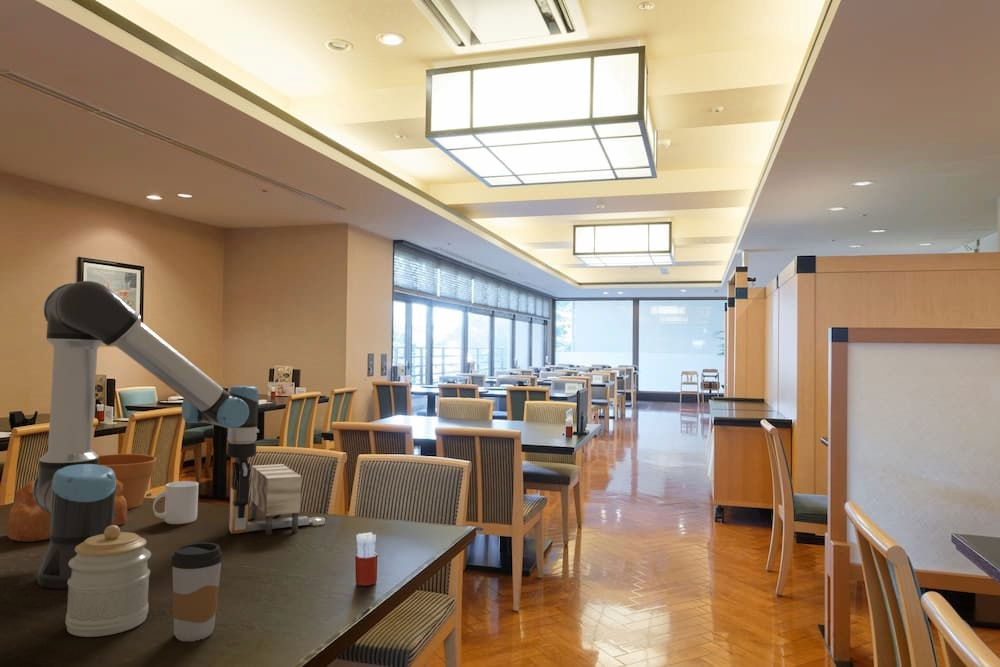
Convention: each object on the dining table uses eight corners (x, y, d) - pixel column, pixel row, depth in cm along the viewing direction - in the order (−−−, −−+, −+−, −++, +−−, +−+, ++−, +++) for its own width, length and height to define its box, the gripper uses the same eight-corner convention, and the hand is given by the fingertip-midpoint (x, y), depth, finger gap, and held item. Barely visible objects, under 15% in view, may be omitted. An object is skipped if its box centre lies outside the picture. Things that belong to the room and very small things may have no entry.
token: (327, 525, 192) (327, 519, 192) (310, 527, 189) (311, 522, 189) (320, 521, 196) (320, 516, 196) (304, 523, 193) (304, 518, 193)
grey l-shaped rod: (309, 524, 189) (310, 482, 189) (231, 533, 178) (233, 489, 178) (305, 521, 192) (307, 480, 193) (229, 530, 182) (230, 486, 182)
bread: (131, 525, 185) (134, 470, 186) (21, 546, 164) (25, 483, 164) (108, 517, 193) (111, 464, 194) (0, 535, 172) (4, 476, 172)
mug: (147, 522, 189) (148, 484, 189) (190, 515, 197) (192, 480, 197) (156, 528, 182) (158, 489, 183) (201, 521, 191) (203, 484, 191)
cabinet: (299, 532, 182) (301, 476, 183) (265, 536, 178) (267, 478, 178) (280, 514, 201) (282, 464, 202) (249, 517, 197) (252, 465, 197)
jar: (161, 610, 126) (165, 517, 127) (124, 639, 113) (129, 535, 114) (92, 609, 126) (96, 516, 126) (47, 638, 113) (53, 534, 113)
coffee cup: (205, 620, 122) (209, 539, 122) (228, 633, 116) (232, 548, 117) (159, 634, 115) (163, 548, 116) (181, 649, 110) (185, 558, 110)
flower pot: (169, 502, 214) (171, 456, 214) (115, 516, 193) (118, 466, 194) (117, 496, 219) (119, 451, 220) (59, 510, 199) (62, 461, 200)
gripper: (262, 445, 176) (259, 533, 176) (250, 437, 191) (246, 518, 190) (233, 446, 172) (229, 536, 172) (222, 438, 187) (219, 521, 186)
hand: (238, 527), depth 181 cm, fingers closed on grey l-shaped rod, 4 cm apart
